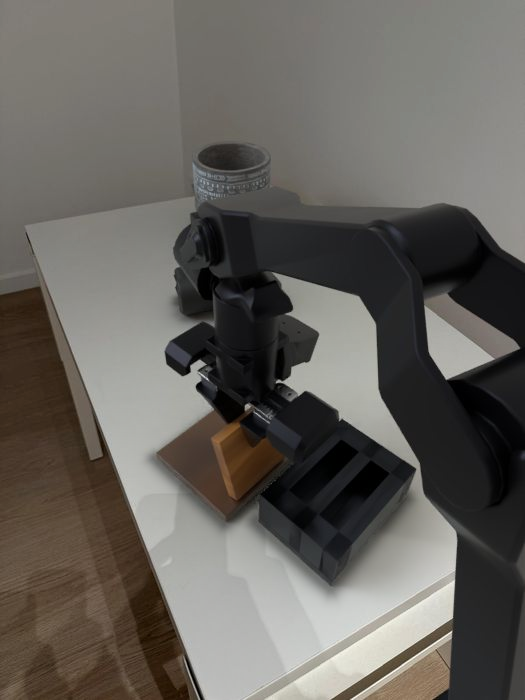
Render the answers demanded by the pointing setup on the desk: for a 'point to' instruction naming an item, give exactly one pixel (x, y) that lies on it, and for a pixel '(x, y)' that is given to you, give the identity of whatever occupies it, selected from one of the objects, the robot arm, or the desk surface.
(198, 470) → the board
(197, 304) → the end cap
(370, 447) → the toaster
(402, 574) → the desk surface
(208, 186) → the planter
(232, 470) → the toast
